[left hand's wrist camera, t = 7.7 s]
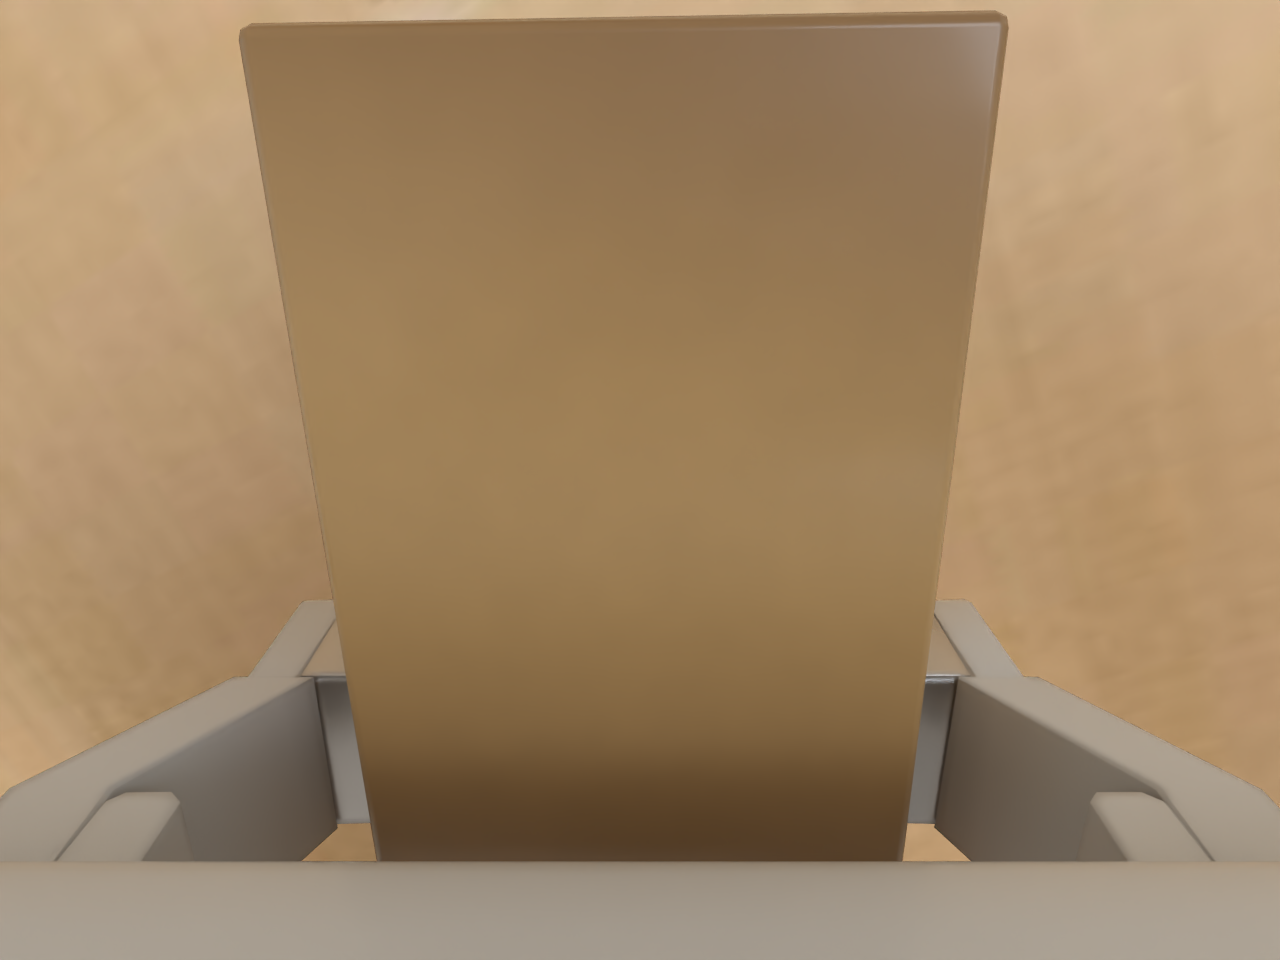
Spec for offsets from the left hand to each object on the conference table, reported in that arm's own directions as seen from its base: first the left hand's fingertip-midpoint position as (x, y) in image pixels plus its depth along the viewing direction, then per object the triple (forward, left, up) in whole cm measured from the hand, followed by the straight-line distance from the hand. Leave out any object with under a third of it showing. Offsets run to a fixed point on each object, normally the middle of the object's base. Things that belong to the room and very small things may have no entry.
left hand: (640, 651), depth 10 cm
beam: (-13, +14, -3) cm, 19 cm away
